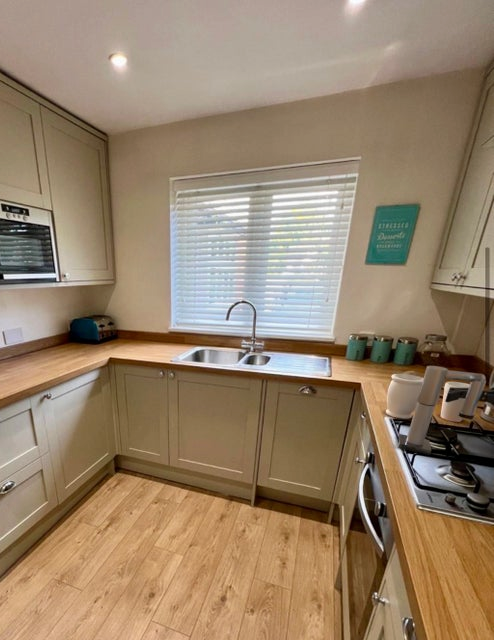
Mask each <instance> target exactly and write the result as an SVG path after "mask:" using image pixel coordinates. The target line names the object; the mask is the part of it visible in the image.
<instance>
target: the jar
mask: <svg viewBox="0 0 494 640" xmlns="http://www.w3.org/2000/svg"><path fill="white" fill-rule="evenodd" d="M421 377H422V376H421ZM421 377H418V376H413V375H407V374H403V373H393V374H391V381H390V383H389V386H388V389H387V395H386V408H387V409H386V410H385V414H386V415H389V417H393V418H397V419H402V420H409V419H411V418H413V415H412V413H414V412H415V409H416V405H417V402H418V401H417V399H418V396H419V392H420V389H421V386H422V382H423V379H424V377H422V378H421Z"/></svg>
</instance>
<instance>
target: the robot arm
mask: <svg viewBox="0 0 494 640" xmlns="http://www.w3.org/2000/svg"><path fill="white" fill-rule="evenodd" d="M468 389H469V388H456V387H450V388H449V391H448V394H447V397H446V400H445V402H451V401H455V400H458V399H459V398H463V399H465V398H466V395H467V392H468ZM480 402H482V403H488V404H491V406H493V407H494V386H492V387H491V388H490V389H488V390H486V389H483V392H482V394H481V397H480V400H479V403H480Z"/></svg>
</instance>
